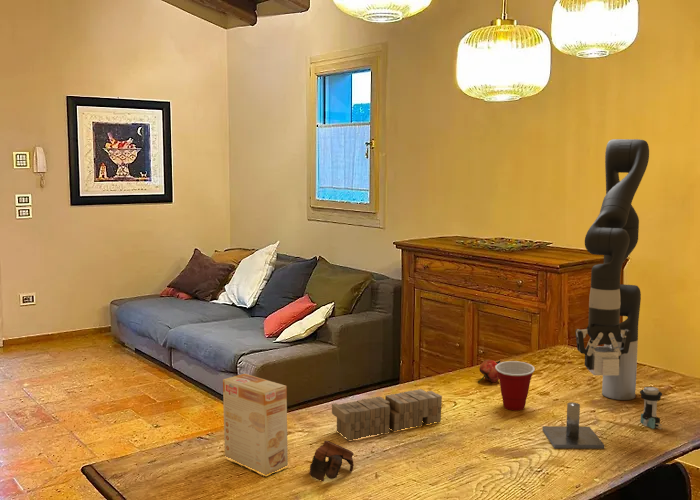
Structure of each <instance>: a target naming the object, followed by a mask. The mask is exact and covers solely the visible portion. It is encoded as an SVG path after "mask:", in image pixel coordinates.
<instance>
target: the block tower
mask: <svg viewBox="0 0 700 500" xmlns="http://www.w3.org/2000/svg"><path fill="white" fill-rule="evenodd" d="M442 398H443V395H441V394H439V393H436V392H434V391H433V390H428V391H425V390H424V389H422V388H420V389H415V390H408V391H404V392H398V393H392V394H386V395H385V398H383V397H381V396H375V397H369V398H363V399H358V400H356V401H355V400H353V401H349V402H345V403H344V402H343V403H339V404H338V403H331V414H332V415H333V416H335V417H336V432H337V431H338V432H339V433H341V434H342V435H343V436H344V437H346V438H347V439H348V440H353V439H358V438H361V437H366V436H369V435H370V436H371V435H377V434H381V433H388V432H389V433H390V429H392V430H393V431H397V430H401V429H405V428H410V427H416V426H421V425H422V426H423V424H424V423H426V424H430V423H434V422H440V421H442V404H443V403H442V400H443V399H442ZM422 421H423V422H424V423H422ZM389 428H390V429H389ZM393 431H392V432H393ZM347 439H346V440H347ZM348 440H347V441H348Z"/></svg>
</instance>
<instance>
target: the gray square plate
mask: <svg viewBox="0 0 700 500" xmlns="http://www.w3.org/2000/svg"><path fill="white" fill-rule="evenodd" d="M566 405H567V406H566V425H563V426H557V425H556V426H554V425H553V426H552V425H551V426H549V425H548V426H546V425H545V426H543V425H542V431H543V433H544V435H545V436H546V438H547V439H548V441H549V442H550V444H551V446H552V447H553V449H574V450H576V449H577V450H579V449H580V450H581V449H583V450H584V449H585V450H587V449H589V450H601V449H602V450H604V449H605V444H604V443H603V441H602V440H601V439H600V438H599V436H598V435H597V434H596V433H595V432H594V430H593V429H592V428H591V427H590V426H580V410H581V404H580V403H578V402H570V401H569V402H567V403H566Z"/></svg>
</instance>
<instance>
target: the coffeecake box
mask: <svg viewBox="0 0 700 500" xmlns="http://www.w3.org/2000/svg"><path fill="white" fill-rule="evenodd" d="M287 387H288V386H287V385H284V384H282V383H278V382H275V381H271V380H268V379H265V378H261V377H257V376H254V375H251V374H248V373H242V374H241V373H240V374H238V375H234V376H230V377H227V378H222V394H223V395H222V397H223V403H222V405H223V429H224V430H223V432H224V433H223V434H224V436H223V437H224V439H223V440H224V457H225V456H226V457H228V458H231V459H233V460H235V461H237V462H239V463H241V464H243V465H246V466H248V467H250V468H252V469H255V470H257V471H259V472H261V473H263V474H265V475H267V474H269V473H272V472H275V471H277V470H279V469H281V468H283V467H285V466H287V465H288V464H289V458H288V457H289V456H288V454H289V453H288V403H287V402H288V400H287V399H288V397H287V396H288V395H287V391H288V390H287ZM288 466H289V465H288Z"/></svg>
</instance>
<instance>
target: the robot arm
mask: <svg viewBox="0 0 700 500" xmlns="http://www.w3.org/2000/svg"><path fill="white" fill-rule="evenodd" d="M604 152H605V155H604V156H605V157H604V163H605V165H604V166H605V169H604V170H605V171H604V173H605V196H604V197H603V200H602V204H601V208H600V211H599V214H598V215H597V217H596V219H595V220H594V222H593V223H592V224H591V225H590V226H589V228H588V230H587V232H586V234H585V237H584V247H585V249H586V251H587V253H589V254H590V255H596V256H603V263H598V264H595V265H593V266H592V268H591V272H590V273H591V275H590V291H589V297H588V298H589V299H588V300H589V301H588V323H587V327H586V328H584V329H583V328H582V329H580V328H576V329H575V338H576V339H575V340H576V346H577V347H576V349H577V351H578V352H579V353H580V354H583V355H584V367H586V369H587V370H588V371H589V370H592V356H591V355H592V353H593V351H594V349H596V347H597V346H601V345H602V346H611V348H612V349H614V350H615V351H617V352H619V357H618V359H620V360H619V375H602V382H601V383H602V386H601V387H602V388H601V394H602V396H604V397H605V398H609V399H611V400H618V401H620V400H621V401H628V400H629V401H630V400H633V399H635V398H636V391H637V390H636V388H637V387H636V385H637V366H638V347H639V346H638V343H639V321H640V311H641V300H642V299H641V296H642V292H641V289H640V287H639V286H638V285H636V284H634V285H633V284H621V272H622V267H623V265H624V263H625V261H626V260H627V258H628V257H629V256H630V255H631V253H632V252H633V251H634V249H635V248H636V246H637V245H638V241H639V231H640V229H639V227H640V219H639V216H638V213H637V212H636V210H635V207H634V206H633V205H632V204H633V203H632V202H633V199H634V197H635V194H637V190H638V188H639V186H640V184H641V182H642V180H643V177H644V175H645V172H646V170H647V167H648V164H649V159H650V147H649V144H648V142H647V141H646V140H644V139H638V138H636V139H635V138H634V139H633V138H632V139H627V138H626V139H622V138H617V139H615V138H614V139H613V138H612V139H610V140H609V141H608V142H607V143H606V147H605V151H604ZM620 173H623V174H625V173H626V175H625V177H623V178H622V179H621V180H620V176H619V175H620ZM621 317H626V319H625V320H624V321H622V322H620V321H621V319H620V318H621ZM587 335H588V336H589V340H588V342H587V345H586V347H585V341H584V339H585V338H586V336H587Z"/></svg>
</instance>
